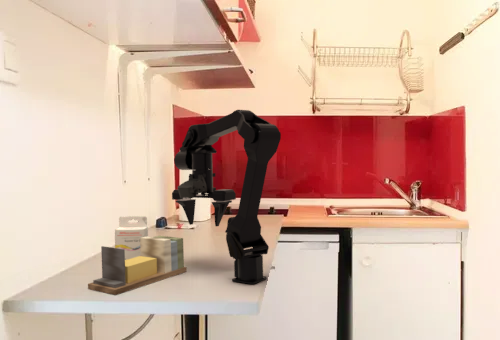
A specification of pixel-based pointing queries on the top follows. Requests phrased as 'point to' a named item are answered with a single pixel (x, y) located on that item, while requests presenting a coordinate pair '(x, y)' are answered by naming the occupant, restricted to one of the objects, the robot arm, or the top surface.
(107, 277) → the brown book holder
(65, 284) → the top surface
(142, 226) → the ink cartridge box
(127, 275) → the ochre book
